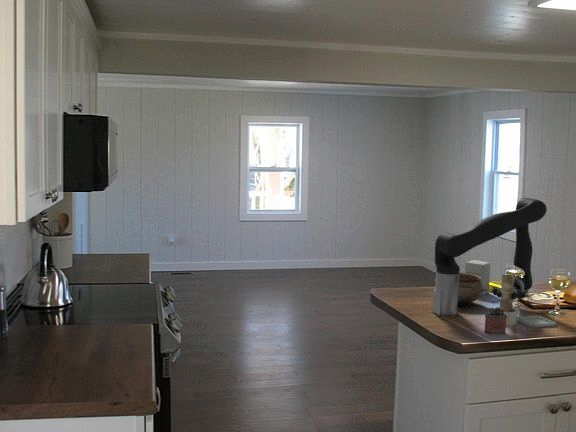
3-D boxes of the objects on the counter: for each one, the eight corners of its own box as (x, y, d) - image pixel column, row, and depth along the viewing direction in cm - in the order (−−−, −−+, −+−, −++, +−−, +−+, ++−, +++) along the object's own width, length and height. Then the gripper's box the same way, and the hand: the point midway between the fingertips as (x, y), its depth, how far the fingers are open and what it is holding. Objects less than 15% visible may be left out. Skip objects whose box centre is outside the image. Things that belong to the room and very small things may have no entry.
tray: (532, 329, 246) (533, 324, 246) (514, 321, 256) (515, 316, 256) (556, 327, 249) (557, 323, 249) (538, 320, 259) (538, 315, 259)
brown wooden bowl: (423, 301, 285) (424, 274, 283) (443, 294, 299) (445, 269, 297) (476, 312, 268) (477, 284, 267) (495, 305, 282) (497, 277, 281)
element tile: (483, 290, 312) (484, 280, 311) (507, 288, 318) (508, 278, 317) (505, 297, 298) (506, 287, 298) (530, 295, 304) (531, 285, 304)
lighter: (503, 333, 240) (505, 307, 239) (507, 335, 237) (509, 309, 235) (482, 332, 240) (484, 306, 239) (485, 335, 236) (487, 308, 235)
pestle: (503, 322, 250) (506, 277, 248) (496, 319, 255) (499, 274, 253) (513, 321, 252) (517, 276, 250) (506, 318, 256) (509, 274, 254)
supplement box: (471, 290, 310) (473, 259, 309) (489, 293, 305) (491, 262, 303) (463, 293, 303) (465, 261, 302) (481, 296, 298) (483, 264, 296)
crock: (502, 326, 248) (503, 312, 248) (490, 321, 256) (491, 307, 255) (520, 325, 251) (521, 311, 250) (507, 319, 258) (508, 306, 258)
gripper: (495, 276, 267) (487, 284, 252) (532, 281, 261) (525, 289, 246) (494, 294, 268) (486, 302, 253) (530, 299, 262) (524, 308, 247)
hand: (505, 296), depth 250 cm, fingers closed on pestle, 4 cm apart
